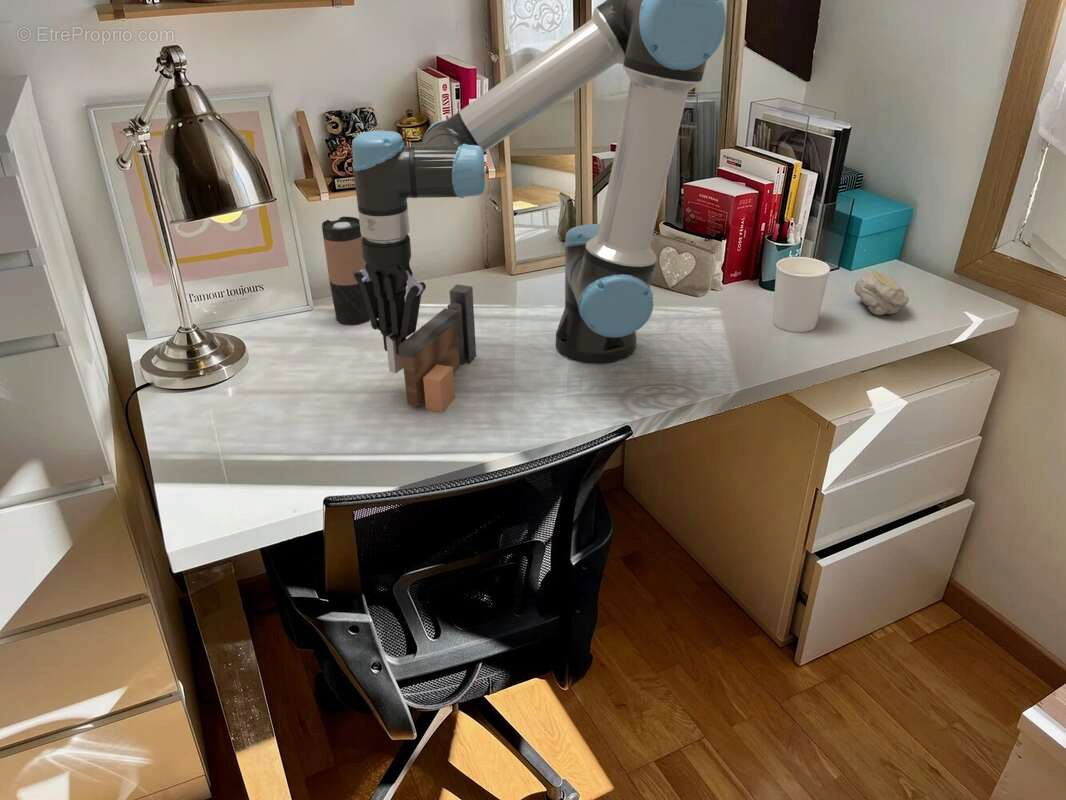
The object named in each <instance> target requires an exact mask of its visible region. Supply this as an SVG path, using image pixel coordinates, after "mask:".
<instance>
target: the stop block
mask: <svg viewBox="0 0 1066 800" xmlns="http://www.w3.org/2000/svg"><path fill="white" fill-rule="evenodd" d="M454 375H455V374H454V373H453V367H450V366H444V365H438V364H437V365H436V366H435V367H434V368H433V369H432V370H431V371H430V372H429V373H428V374H427V375H426V376H425V377H424V378H423V383H424V393H425V400H424V401H425V402H424V404H425V410H426V411H433V412H436V413H443V412H444V411H445V410H446V409H447V408H448V407H449V406H450V405H451V404H452V402H454V401H455V399H456V390H455V389H456V387H455V376H454Z"/></svg>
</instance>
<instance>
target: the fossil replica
mask: <svg viewBox="0 0 1066 800" xmlns="http://www.w3.org/2000/svg"><path fill="white" fill-rule="evenodd" d="M854 293H855V294H856V295H857V296H858V297H859V298H860V301H861V303H863V304H864V305H866V306H868V307H867V308H868V309H869V311H870V312H871V313H872V314H874V315H875V316H883V315H886V314H887V315H892V314H896V313H898V312H899V310H901V308H903V307H905V306H907V305H908V303H909V302H910V301H909V300H910V297H909V295H908V294H907V292H906V291H905V289H904V288H903V287H902V286H901V285H899V284H898V282H897V281H896V279H894V277H893V276H891V275H889V274H887V273H884V272H880V271H878V270H875V269H869V270H867V271H866V272H865V273H864V274H861V276H860V278H859V279H857V281H856V283H855V286H854Z"/></svg>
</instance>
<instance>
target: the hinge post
mask: <svg viewBox="0 0 1066 800" xmlns="http://www.w3.org/2000/svg"><path fill="white" fill-rule="evenodd" d="M473 291H474V290H473V286H471V285H465V284H464V285H462V284H455V285H454V287H452V288H451V289H450V290H449V301H450V302H449V304H451V303H459V304H461V308H462V324H463V339H464V355H465V363H464V364H468V365H470V364H471V363H472V362H473V361H474V360H475V359H476V358H475V357H477V348H476V328H475V327H476V326H475V310H474V292H473Z"/></svg>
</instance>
